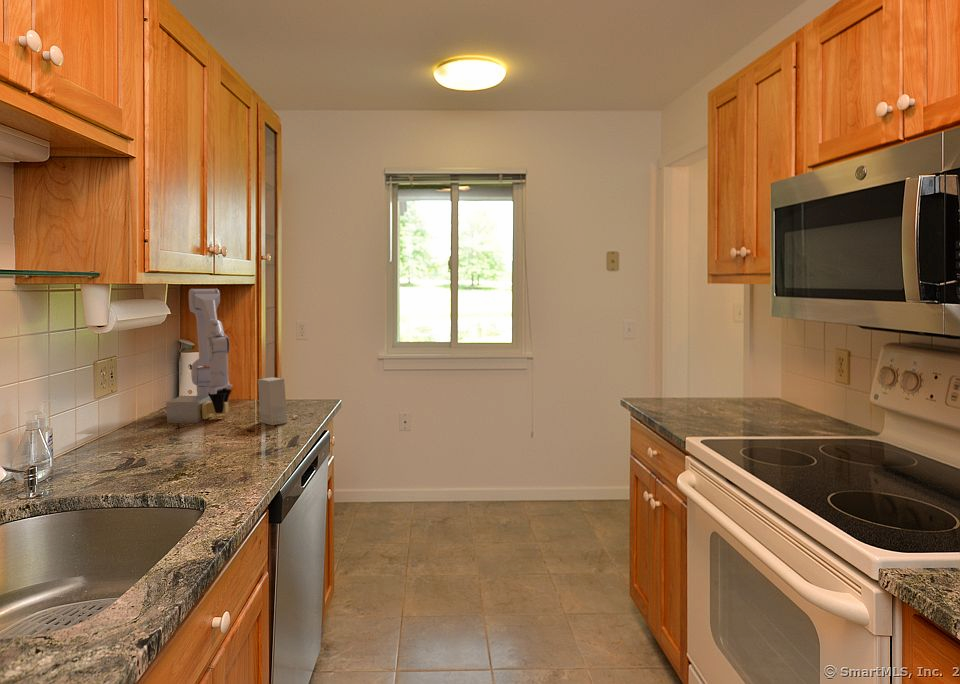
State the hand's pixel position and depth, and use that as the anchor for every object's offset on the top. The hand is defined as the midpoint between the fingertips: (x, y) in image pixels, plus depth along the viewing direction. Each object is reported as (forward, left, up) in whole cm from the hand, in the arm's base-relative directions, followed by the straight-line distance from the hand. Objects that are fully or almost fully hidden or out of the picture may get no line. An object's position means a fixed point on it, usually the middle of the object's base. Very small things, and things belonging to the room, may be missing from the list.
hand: (220, 411), depth 224 cm
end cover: (0, -5, -2) cm, 6 cm away
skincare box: (+8, +20, -3) cm, 21 cm away
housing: (0, -10, -2) cm, 11 cm away
